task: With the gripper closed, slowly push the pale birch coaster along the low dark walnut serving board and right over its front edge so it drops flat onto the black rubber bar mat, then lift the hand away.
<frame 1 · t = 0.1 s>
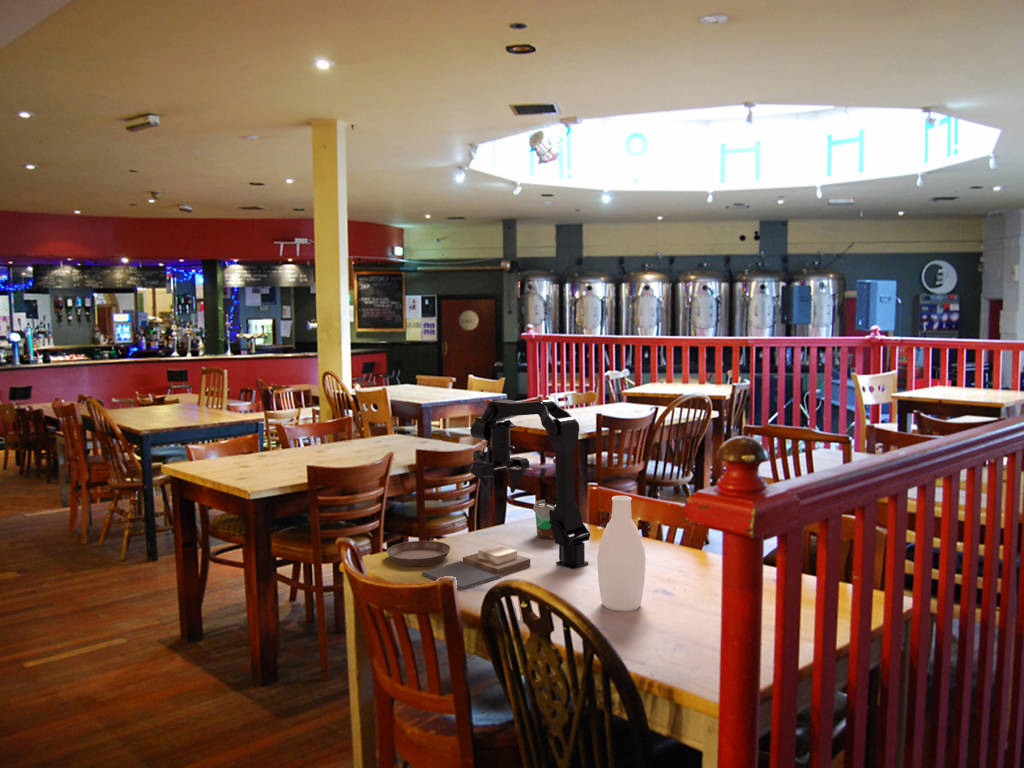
hand: (501, 495, 234), 15 cm above the table, tool pointing down, fingers open, 9 cm apart
serving board: (496, 565, 215), on the table
plant saucer: (419, 560, 222), on the table
bar mat: (461, 576, 206), on the table
food container: (544, 537, 242), on the table
bottle: (621, 605, 185), on the table
coaster: (497, 557, 215), point 2 cm above the table, touching serving board
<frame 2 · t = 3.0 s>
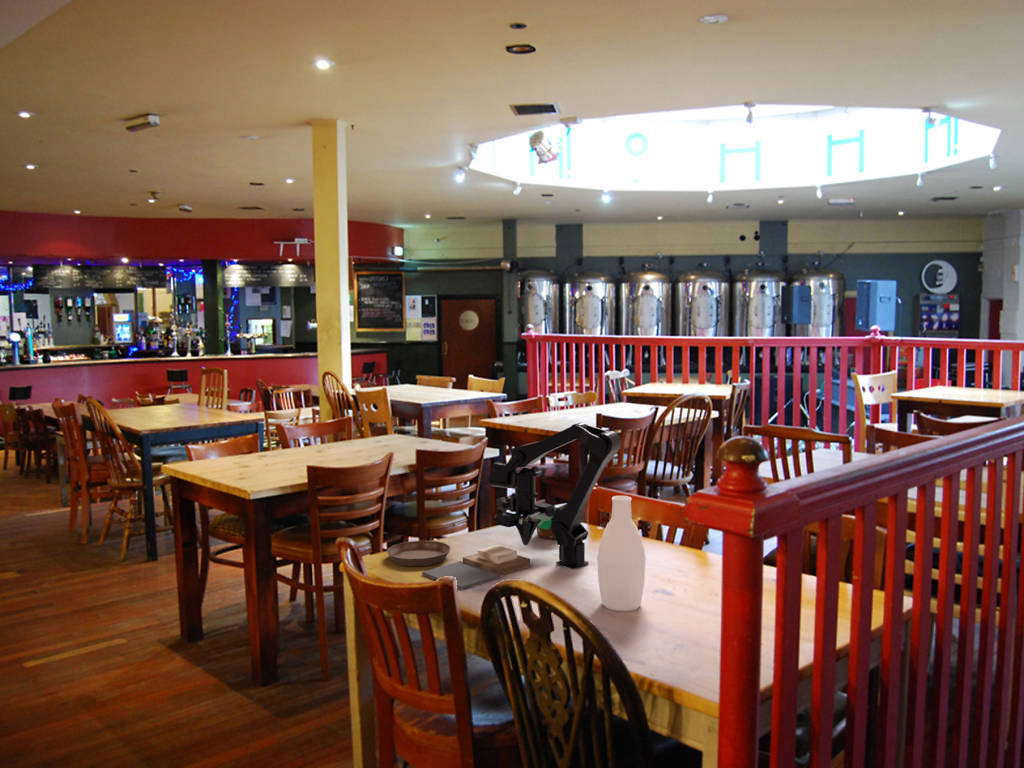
hand: (525, 544, 222), 3 cm above the table, tool pointing down, fingers closed
nothing on the table moved.
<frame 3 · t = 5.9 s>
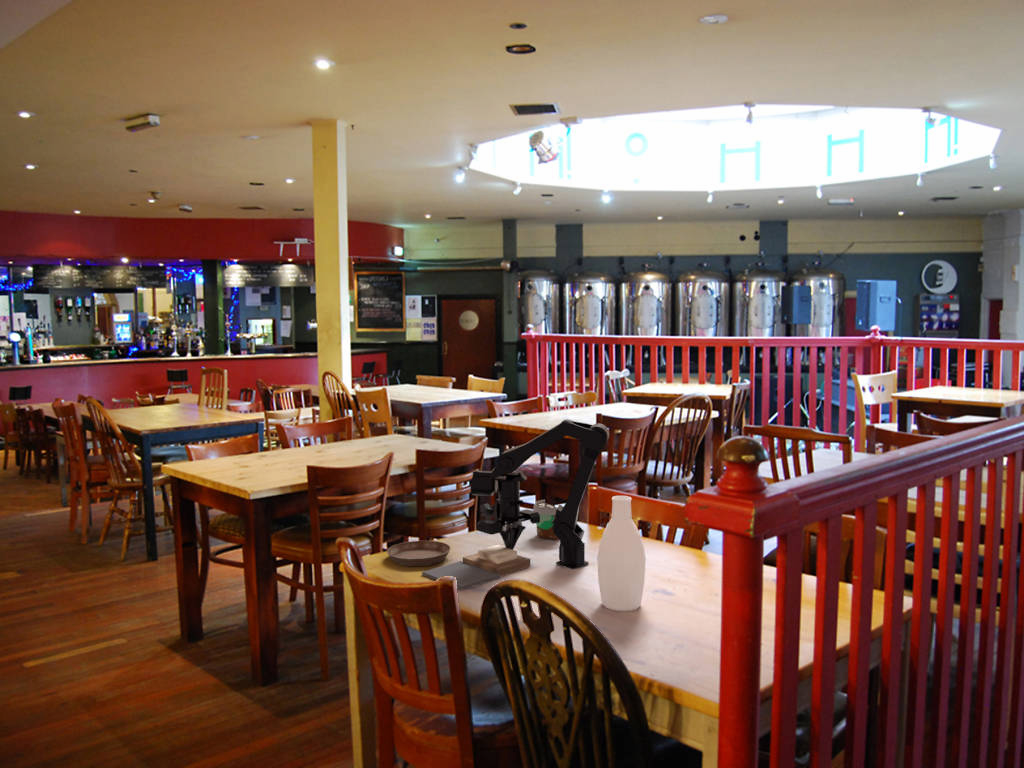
hand: (509, 552, 218), 3 cm above the table, tool pointing down, fingers closed
coaster: (497, 557, 215), point 2 cm above the table, touching gripper, serving board
everything else where it was.
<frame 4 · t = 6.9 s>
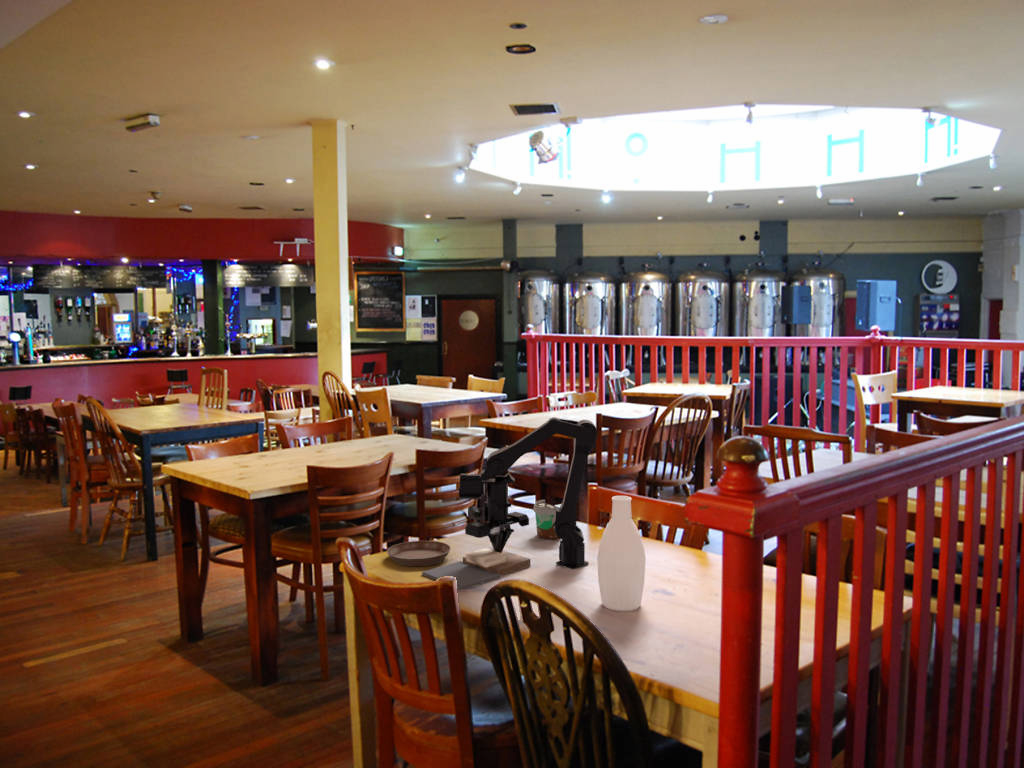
hand: (498, 555, 215), 3 cm above the table, tool pointing down, fingers closed
coaster: (485, 561, 212), point 2 cm above the table, touching gripper
everything else where it was.
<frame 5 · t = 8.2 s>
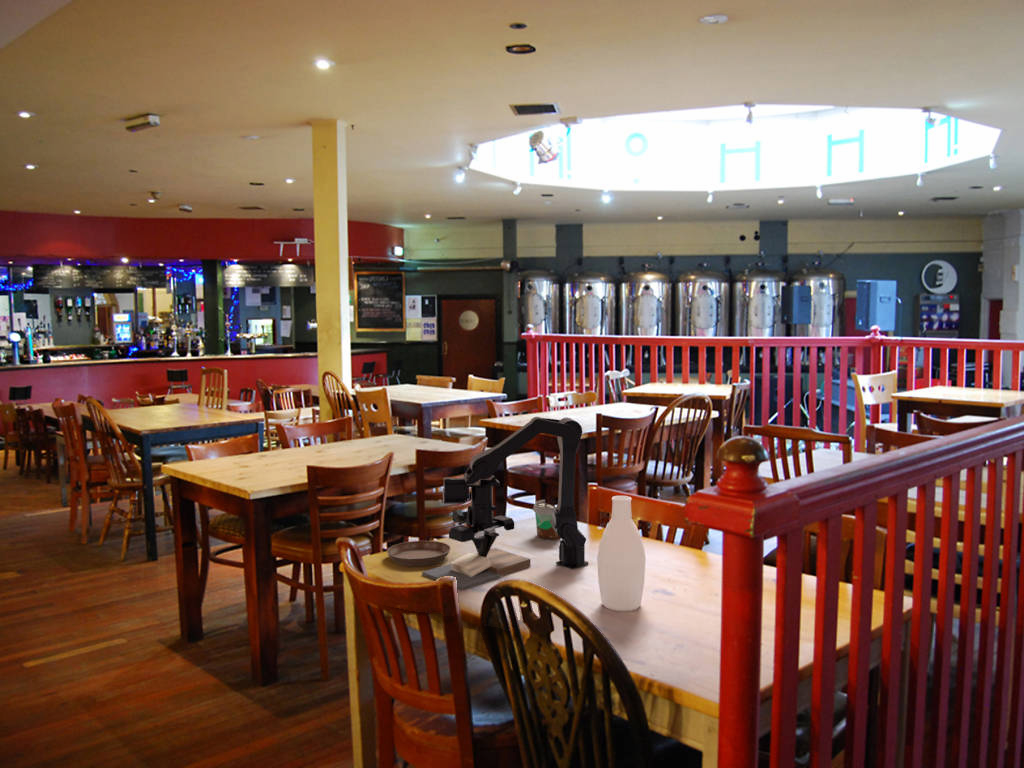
hand: (482, 559, 211), 3 cm above the table, tool pointing down, fingers closed
coaster: (471, 567, 208), point 1 cm above the table, tilted 10°, touching gripper
everything else where it was.
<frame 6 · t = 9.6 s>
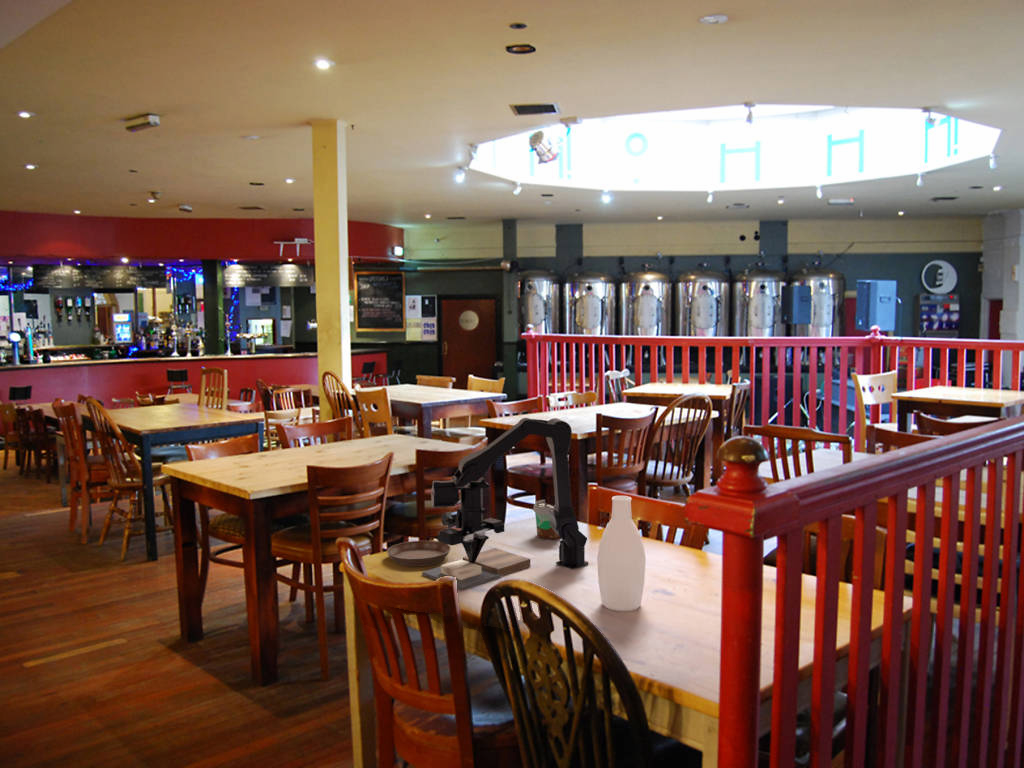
hand: (472, 563, 209), 3 cm above the table, tool pointing down, fingers closed
coaster: (461, 573, 206), point 1 cm above the table, touching bar mat, gripper
everything else where it was.
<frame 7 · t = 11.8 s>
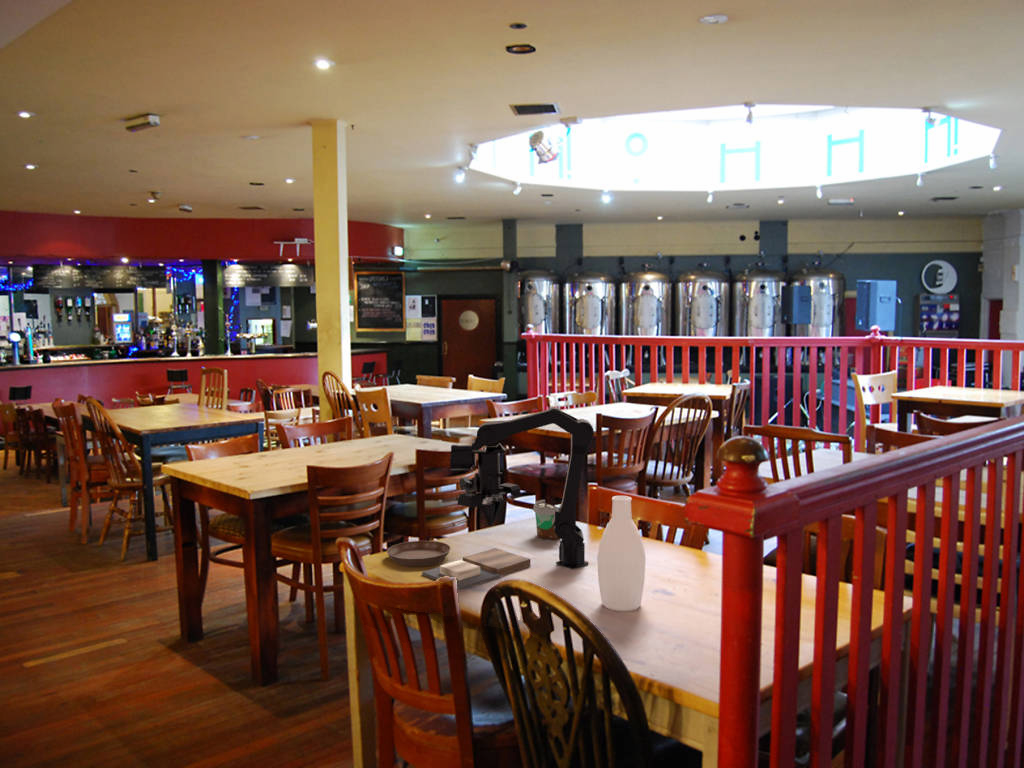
hand: (490, 526, 215), 11 cm above the table, tool pointing down, fingers closed
coaster: (460, 573, 206), point 1 cm above the table, touching bar mat
everything else where it was.
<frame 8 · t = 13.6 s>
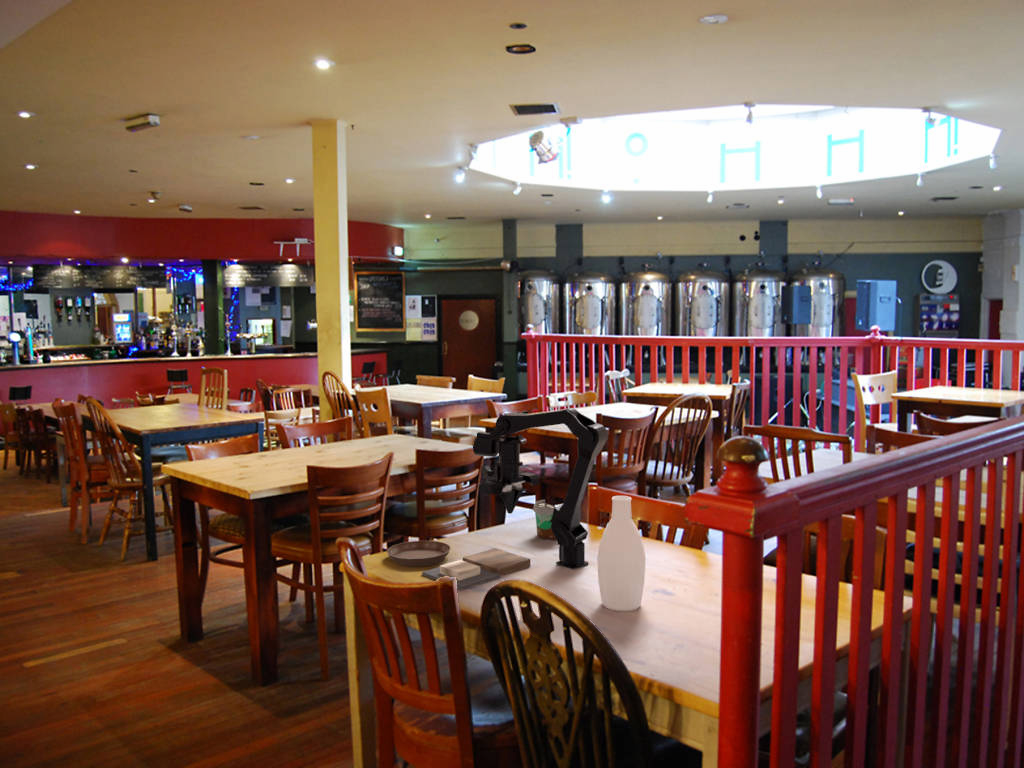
hand: (509, 513, 223), 12 cm above the table, tool pointing down, fingers closed
nothing on the table moved.
at the end: coaster inside the target area (0.2 cm from its centre), point 0.8 cm above the table; coaster tilted 0° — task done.
